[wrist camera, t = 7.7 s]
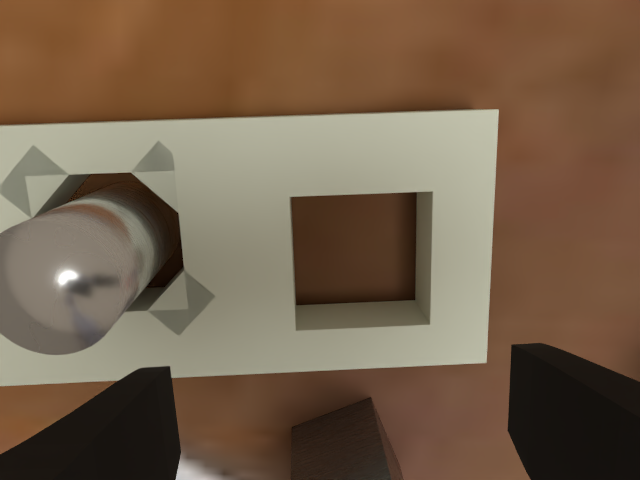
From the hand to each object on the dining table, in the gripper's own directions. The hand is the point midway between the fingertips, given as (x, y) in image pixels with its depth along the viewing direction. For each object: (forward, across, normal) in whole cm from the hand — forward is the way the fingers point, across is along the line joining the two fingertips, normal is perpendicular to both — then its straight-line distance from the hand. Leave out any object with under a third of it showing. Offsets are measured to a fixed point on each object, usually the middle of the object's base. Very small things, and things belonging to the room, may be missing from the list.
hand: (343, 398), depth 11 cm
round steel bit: (+10, +7, -2) cm, 13 cm away
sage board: (+10, +3, -1) cm, 11 cm away
